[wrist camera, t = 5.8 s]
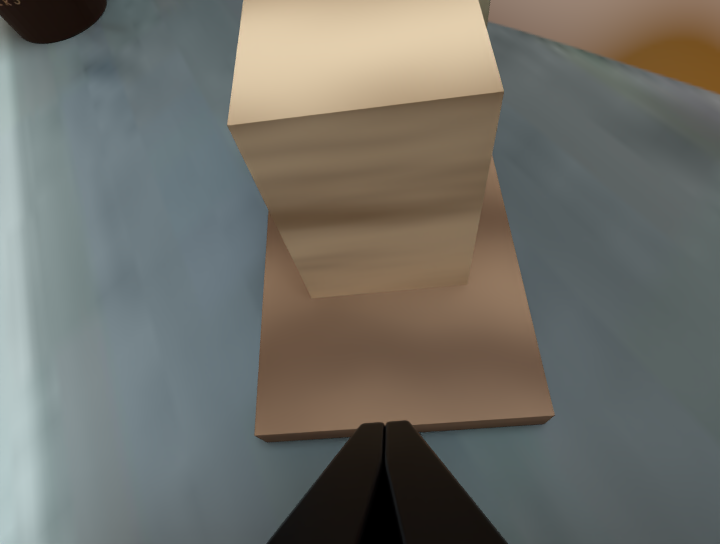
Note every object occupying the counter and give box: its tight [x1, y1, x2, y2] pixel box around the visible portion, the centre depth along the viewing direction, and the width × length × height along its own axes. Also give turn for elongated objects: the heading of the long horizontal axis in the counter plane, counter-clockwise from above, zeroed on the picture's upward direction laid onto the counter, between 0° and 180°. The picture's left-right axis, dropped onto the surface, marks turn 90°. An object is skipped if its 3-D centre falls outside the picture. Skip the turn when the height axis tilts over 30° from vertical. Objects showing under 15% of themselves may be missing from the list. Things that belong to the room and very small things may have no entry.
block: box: [227, 0, 504, 298], centre depth 16 cm, size 10×6×9 cm, turn 3°
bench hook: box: [240, 0, 555, 442], centre depth 18 cm, size 16×10×6 cm, turn 3°
